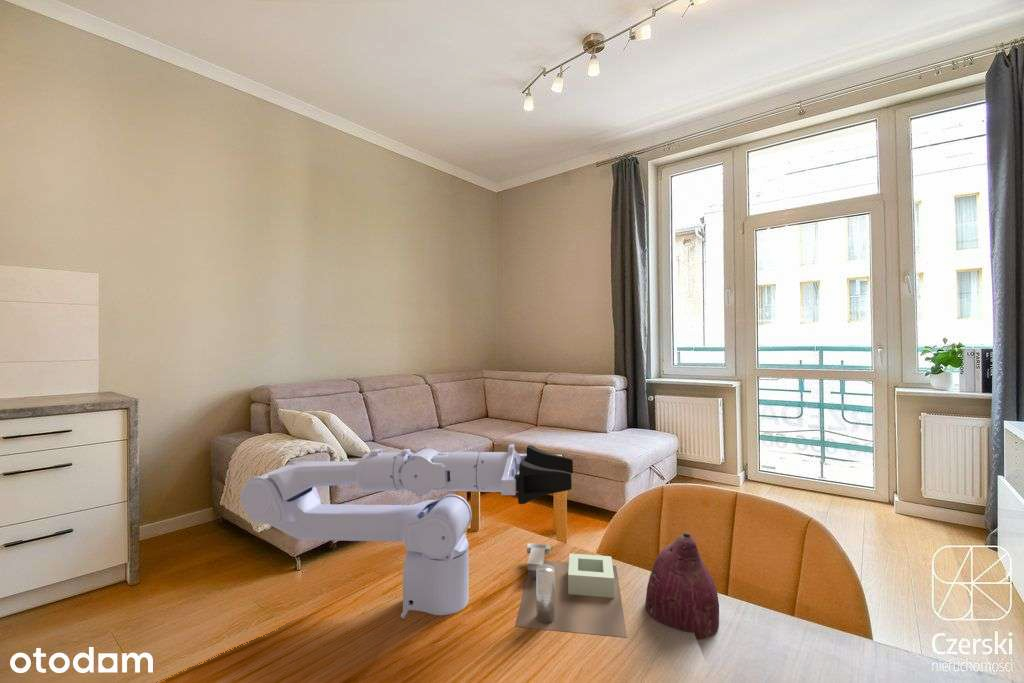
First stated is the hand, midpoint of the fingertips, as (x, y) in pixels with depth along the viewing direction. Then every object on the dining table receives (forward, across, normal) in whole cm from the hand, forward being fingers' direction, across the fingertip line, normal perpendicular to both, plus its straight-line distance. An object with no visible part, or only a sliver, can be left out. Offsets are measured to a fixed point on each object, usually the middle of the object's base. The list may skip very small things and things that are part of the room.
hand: (572, 473), depth 64 cm
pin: (-4, -2, +20) cm, 21 cm away
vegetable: (+15, +3, +22) cm, 27 cm away
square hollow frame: (+2, +8, +21) cm, 23 cm away
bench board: (-1, +5, +21) cm, 22 cm away
